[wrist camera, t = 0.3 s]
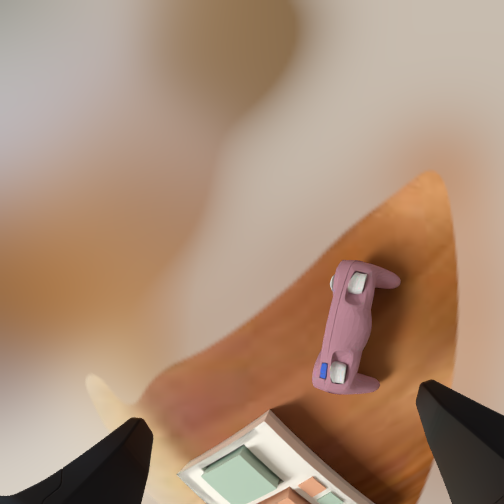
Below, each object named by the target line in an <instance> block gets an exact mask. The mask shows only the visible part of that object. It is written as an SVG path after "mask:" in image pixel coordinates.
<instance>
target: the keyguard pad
mask: <svg viewBox="0 0 504 504" xmlns="http://www.w3.org/2000/svg"><path fill="white" fill-rule="evenodd" d="M243 445H245V446H246V447H247V448H248V449H249V450H250V451H251V452H252V453H253V454H254V455H255V456H256V457H257V458H258V459H259V460H261V461H262V462H263V463H264V464H265V465H266V466H267V467H268V468H269V469H270V470H271V471H273V472H274V473H275V474H276V475H277V476H278V477H279V482H278V486H277V489H275V490H274V491H272V492H270V493H268V494H266V495H264V496H262V497H260V498H258V499H256V500H254V501H251V502H249V503H247V504H257V503H259V502H261V501H263V500H265V499H267V498H269V497H271V496H273V495H275V494H277V493H279V492H280V491H282V490H284V489H286V488H288V487H291V488H292V489H294V490H295V491H296V492H297V493H298V494H300V495H301V496H302V497H303V498H305V499H306V500H307V501H309V502H310V503H311V504H375V503H373V502H372V501H371V500H369V499H368V498H367V497H366V496H364V495H363V494H362V493H360V492H359V491H358V490H357V489H355V488H354V487H353V486H352V485H351V484H349V483H348V482H347V481H346V480H344V479H343V478H342V477H341V476H340V475H339V474H337V473H336V472H335V471H334V470H333V469H332V468H330V467H329V466H328V465H327V464H326V463H325V462H324V461H323V460H321V459H320V458H319V457H318V456H317V455H316V454H315V453H314V452H313V451H312V450H310V449H309V448H308V447H307V446H306V445H305V444H304V443H303V442H302V441H301V440H300V439H299V438H298V437H297V436H296V435H295V434H294V433H293V432H292V431H291V430H290V429H289V428H288V427H287V426H286V425H285V424H284V423H283V422H282V421H281V420H280V419H279V418H278V417H277V416H276V415H275V414H274V413H273V412H272V411H271V410H270V409H269V410H268V411H267V412H265V413H264V414H263V415H261V416H260V417H259V418H257V419H256V420H254V421H253V422H251V423H250V424H249V425H247V426H246V427H244V428H243V429H241V430H240V431H238V432H237V433H235V434H234V435H232V436H231V437H229V438H228V439H226V440H225V441H223V442H221V443H220V444H218V445H217V446H215V447H213V448H212V449H210V450H208V451H207V452H205V453H203V454H202V455H200V456H198V457H196V458H195V459H193V460H191V461H189V462H188V463H187V464H186V465H185V466H184V467H183V468H182V469H181V470H180V471H179V472H178V473H177V475H178V476H179V477H180V479H181V480H182V481H183V482H184V483H185V484H186V485H187V486H189V487H190V488H191V489H192V490H193V491H194V492H195V493H196V494H197V495H198V496H199V497H200V498H201V499H202V500H203V501H205V502H206V503H207V504H230V503H229V502H228V501H227V500H226V499H225V498H223V497H222V496H221V495H220V494H219V493H218V492H217V491H216V490H215V489H213V488H212V487H211V486H210V485H209V484H208V483H207V482H206V481H205V480H204V479H203V478H202V477H201V475H202V474H203V473H204V472H205V470H206V469H207V468H208V467H209V466H210V465H211V464H213V463H215V462H217V461H218V460H220V459H222V458H224V457H225V456H227V455H229V454H230V453H232V452H234V451H235V450H237V449H239V448H240V447H242V446H243Z"/></svg>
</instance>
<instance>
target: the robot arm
mask: <svg viewBox="0 0 504 504" xmlns="http://www.w3.org/2000/svg"><path fill="white" fill-rule="evenodd" d="M416 406H417V409H418V412H419V415H420V419H421V422H422V425H423V428H424V432H425V435H426V438H427V441H428V444H429V446H430V449H431V451H432V453H433V456H434V458H435V461H436V463H437V465H438V468H439V470H440V473H441V475H442V478H443V481H444V483H445V486H446V488H447V491H448V494H449V496H450V499H451V502H452V504H504V415H501V414H499V413H497V412H495V411H493V410H491V409H489V408H487V407H485V406H483V405H481V404H479V403H477V402H475V401H473V400H471V399H470V398H468V397H466V396H464V395H461V394H460V393H458V392H456V391H454V390H452V389H450V388H448V387H446V386H444V385H442V384H441V383H439V382H437V381H435V380H428V381H425V382H422V383H421V384H420V387H419V391H418V395H417V399H416ZM152 444H153V434H152V431H151V430H150V428H149V427H148V425H147V424H146V422H145V421H144V419H142V418H135V417H133V418H130V419H129V420H127V421H126V422H125V423H124V424H122V425H121V426H120V427H118V428H117V429H116V430H114V431H113V432H112V433H110V434H109V435H108V436H107V437H105V438H104V439H103V440H101V441H100V442H98V443H97V444H96V445H94V446H93V447H92V448H91V449H89V450H87V451H86V452H85V453H83V454H82V455H81V456H79V457H78V458H76V459H75V460H73V461H72V462H71V463H69V464H68V465H66V466H65V467H63V469H60V470H59V471H57V472H56V473H54V474H53V475H51V476H50V477H48V478H47V479H45V480H43V481H41V482H39V483H37V484H35V485H33V486H31V487H29V488H27V489H25V490H23V491H21V492H19V493H17V494H14V495H10V496H0V504H141V502H142V497H143V493H144V489H145V485H146V481H147V477H148V473H149V467H150V459H151V451H152Z"/></svg>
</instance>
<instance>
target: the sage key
mask: <svg viewBox="0 0 504 504" xmlns="http://www.w3.org/2000/svg"><path fill="white" fill-rule="evenodd" d="M201 477H202V478H203V479H204V480H205V481H206V482H207V483H208V484H209V485H210V486H211V487H212V488H213V489H215V490H216V491H217V492H218V493H219V494H220V495H221V496H222V497H223V498H225V499H226V500H227V501H228V502H229V503H230V504H247V503H249V502H251V501H254V500H256V499H258V498H260V497H262V496H264V495H266V494H268V493H270V492H272V491H274V490H275V489H277V486H278V482H279V477H278V476H277V475H276V474H275V473H274V472H273V471H271V470H270V469H269V468H268V467H267V466H266V465H265V464H264V463H263V462H262V461H261V460H259V459H258V458H257V457H256V456H255V455H254V454H253V453H252V452H251V451H250V450H249V449H248V448H247V447H246V446H245V445H243V446H242V447H240V448H239V449H237V450H235V451H234V452H232V453H230V454H229V455H227V456H225V457H224V458H222V459H220V460H218V461H217V462H215V463H213V464H211V465H210V466H209V467H208V468H207V469H206V470H205V472H204V473H203V474H202V475H201Z"/></svg>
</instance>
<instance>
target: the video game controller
mask: <svg viewBox="0 0 504 504" xmlns="http://www.w3.org/2000/svg"><path fill="white" fill-rule="evenodd" d="M400 283H401V281H400V278H399V277H398V276H397V275H396V274H395V273H393V272H391V271H388V270H386V269H384V268H381V267H379V266H376V265H373V264H370V263H365V262H362V261H357V260H342V261H341V262H340V264H339V265H338V267H337V269H336V273H335V275H334V276H332V279H331V281H330V286H331V290H332V291H333V300H332V303H331V307H330V311H329V316H328V320H327V324H326V329H325V334H324V339H323V345H322V350H321V352H320V353H319V356H318V358H317V360H316V363H315V366H314V370H313V377H312V381H313V385H314V387H315V388H318V389H321V390H323V391H326V392H328V393H333V394H361V393H370V392H374V391H375V390H377V389H378V388H379V386H380V384H379V381H378V380H377V379H375V378H373V377H369V376H366V375H363V374H359V373H357V372H358V368H359V364H360V359H361V355H362V351H363V349H364V347H365V345H366V344H367V341H368V339H369V336H370V332H371V328H372V318H371V306H372V302H373V296H374V290H375V288H385V289H392V288H396V287H398V286H399V285H400Z"/></svg>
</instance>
